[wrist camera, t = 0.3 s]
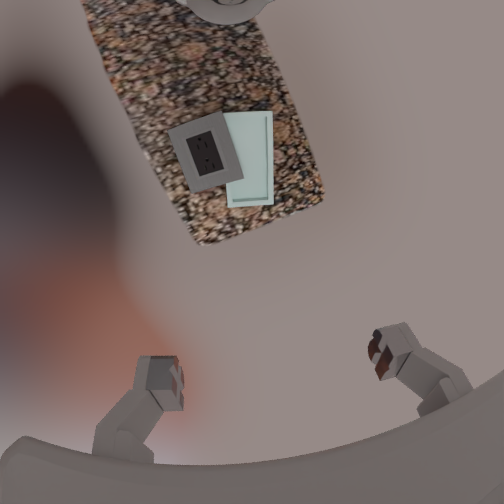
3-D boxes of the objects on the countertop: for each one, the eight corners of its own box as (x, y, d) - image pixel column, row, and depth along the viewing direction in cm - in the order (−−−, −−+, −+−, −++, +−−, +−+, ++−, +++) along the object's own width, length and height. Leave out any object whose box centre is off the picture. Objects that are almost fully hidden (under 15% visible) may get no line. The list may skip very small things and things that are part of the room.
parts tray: (221, 112, 46) (221, 113, 44) (270, 110, 46) (272, 111, 45) (227, 203, 55) (227, 207, 54) (271, 200, 56) (273, 204, 54)
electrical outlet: (171, 128, 47) (166, 130, 45) (223, 109, 44) (221, 110, 42) (194, 189, 53) (191, 194, 51) (245, 175, 51) (244, 178, 49)
